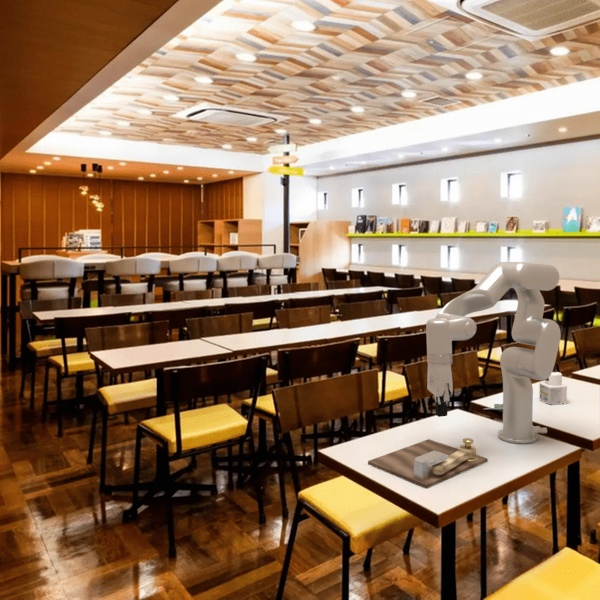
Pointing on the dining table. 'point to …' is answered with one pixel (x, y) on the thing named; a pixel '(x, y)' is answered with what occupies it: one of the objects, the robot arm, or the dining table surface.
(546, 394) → the container
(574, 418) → the dining table surface
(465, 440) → the brass pin
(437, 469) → the arm link
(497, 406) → the metal bracket
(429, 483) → the walnut board
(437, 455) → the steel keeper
